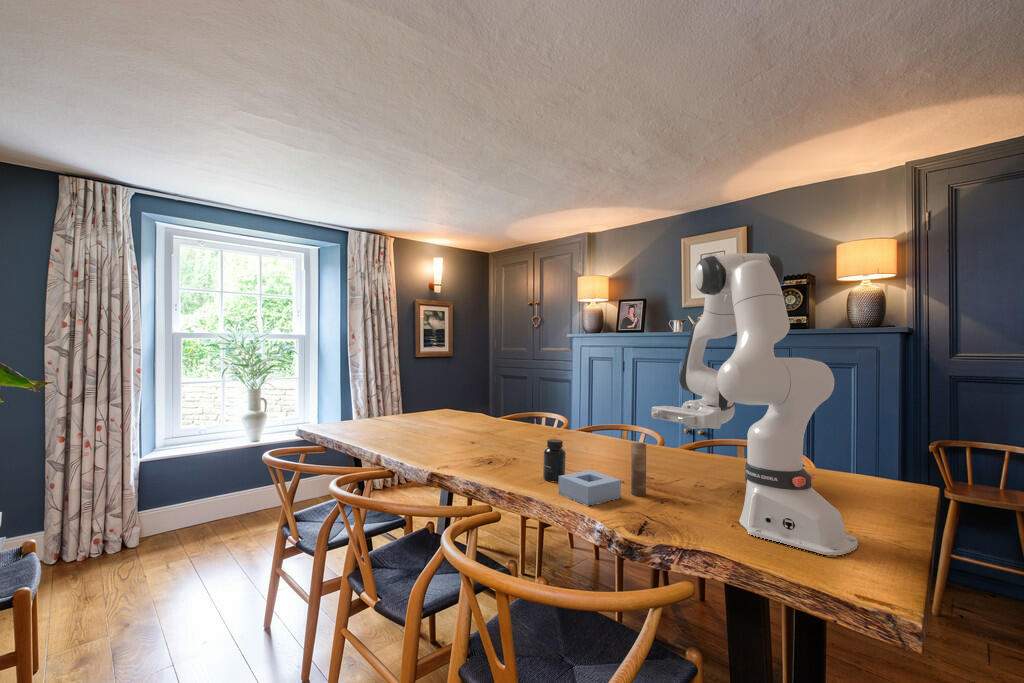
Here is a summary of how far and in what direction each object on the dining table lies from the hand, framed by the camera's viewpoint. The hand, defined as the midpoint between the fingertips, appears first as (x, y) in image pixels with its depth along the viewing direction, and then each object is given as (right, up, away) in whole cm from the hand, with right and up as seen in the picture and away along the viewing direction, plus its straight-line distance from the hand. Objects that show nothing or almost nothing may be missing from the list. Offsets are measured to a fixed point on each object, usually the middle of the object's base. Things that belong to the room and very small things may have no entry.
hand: (666, 418), depth 136 cm
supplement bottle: (-32, -20, +7) cm, 39 cm away
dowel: (-10, -20, -7) cm, 24 cm away
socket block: (-24, -20, -9) cm, 33 cm away
